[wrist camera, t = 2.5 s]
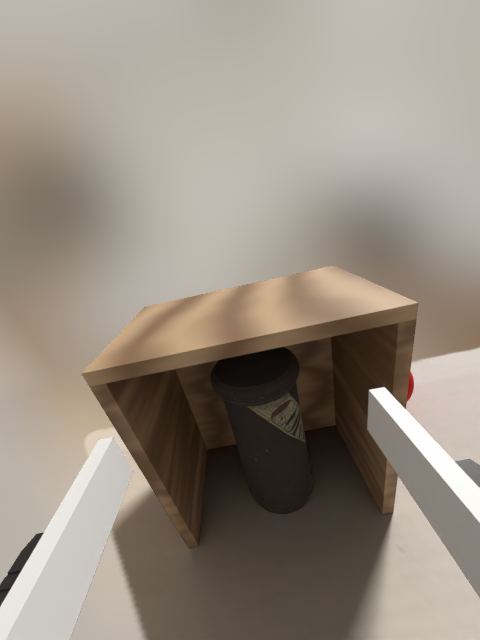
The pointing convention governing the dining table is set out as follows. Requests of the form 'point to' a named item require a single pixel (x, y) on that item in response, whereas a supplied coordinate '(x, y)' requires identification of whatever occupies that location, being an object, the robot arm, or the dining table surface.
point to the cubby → (244, 338)
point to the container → (267, 425)
